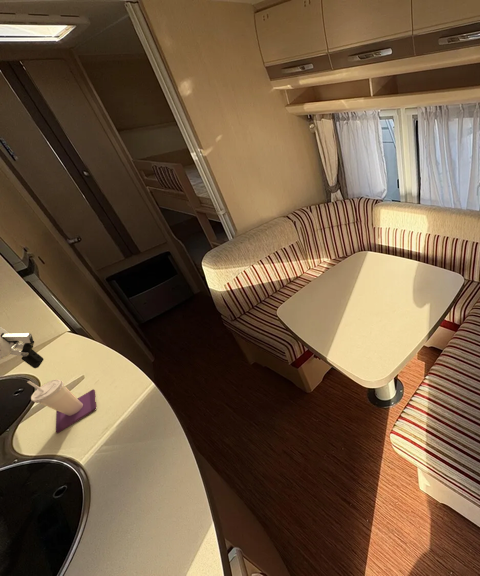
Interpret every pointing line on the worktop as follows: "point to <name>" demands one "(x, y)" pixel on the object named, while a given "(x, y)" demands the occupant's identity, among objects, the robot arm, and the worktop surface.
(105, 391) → the worktop surface
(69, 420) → the towel mat
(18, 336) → the robot arm
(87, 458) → the worktop surface
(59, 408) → the smoothie
